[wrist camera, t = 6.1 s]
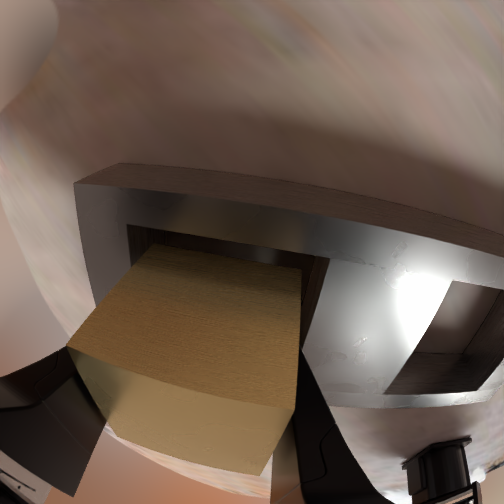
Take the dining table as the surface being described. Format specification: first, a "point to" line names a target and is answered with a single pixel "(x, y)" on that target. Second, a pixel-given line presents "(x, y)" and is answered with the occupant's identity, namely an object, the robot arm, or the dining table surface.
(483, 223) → the dining table surface
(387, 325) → the grey flat block
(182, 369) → the natural wood cube
